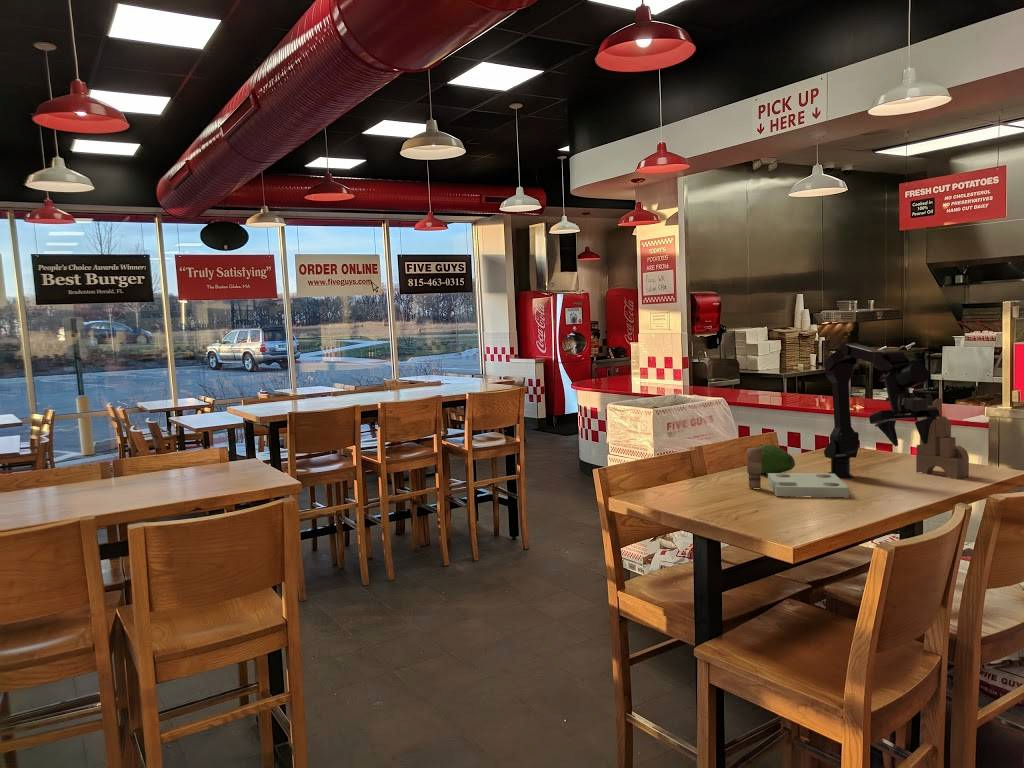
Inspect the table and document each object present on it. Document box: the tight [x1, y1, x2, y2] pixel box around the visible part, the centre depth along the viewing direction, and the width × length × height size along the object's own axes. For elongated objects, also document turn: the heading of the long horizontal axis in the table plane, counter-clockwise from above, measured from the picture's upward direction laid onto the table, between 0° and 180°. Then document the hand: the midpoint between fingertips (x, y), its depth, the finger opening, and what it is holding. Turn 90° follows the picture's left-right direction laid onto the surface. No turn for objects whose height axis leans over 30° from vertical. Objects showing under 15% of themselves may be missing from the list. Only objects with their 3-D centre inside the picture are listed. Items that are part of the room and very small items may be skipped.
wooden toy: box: [915, 398, 970, 480], centre depth 235 cm, size 15×7×25 cm, turn 27°
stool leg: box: [746, 447, 763, 488], centre depth 226 cm, size 4×4×12 cm
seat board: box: [767, 472, 850, 499], centre depth 222 cm, size 20×20×3 cm
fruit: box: [758, 444, 796, 474], centre depth 246 cm, size 15×10×10 cm, turn 35°
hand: (911, 445), depth 206 cm, fingers open, 9 cm apart
